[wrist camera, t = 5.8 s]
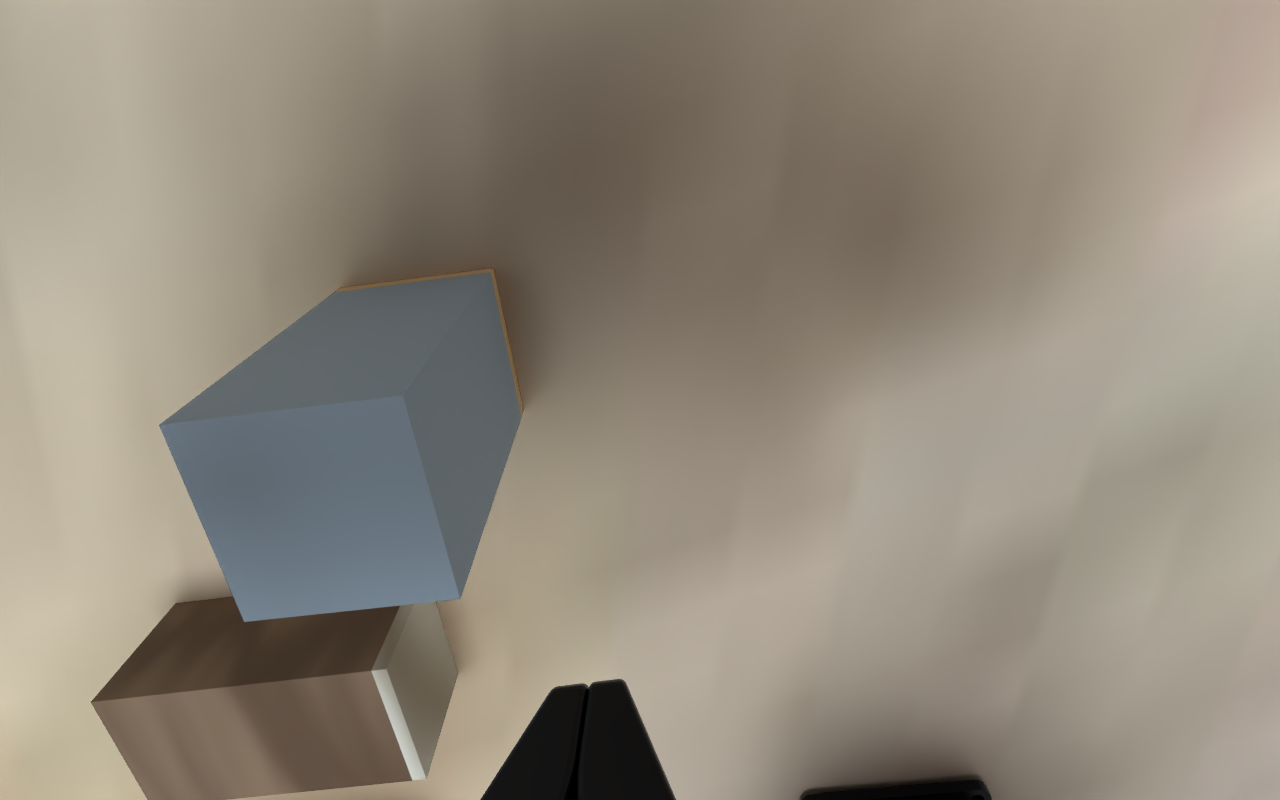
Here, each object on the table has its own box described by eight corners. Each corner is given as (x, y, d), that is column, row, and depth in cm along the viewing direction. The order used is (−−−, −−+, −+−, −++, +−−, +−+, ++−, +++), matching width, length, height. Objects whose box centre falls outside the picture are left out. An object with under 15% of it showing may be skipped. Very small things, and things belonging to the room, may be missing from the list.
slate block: (493, 267, 19) (402, 395, 12) (523, 410, 21) (459, 599, 14) (339, 287, 19) (159, 424, 12) (381, 427, 21) (244, 621, 14)
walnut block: (386, 669, 19) (90, 702, 20) (426, 778, 21) (152, 807, 22) (426, 573, 23) (176, 602, 24) (458, 673, 25) (223, 698, 25)
